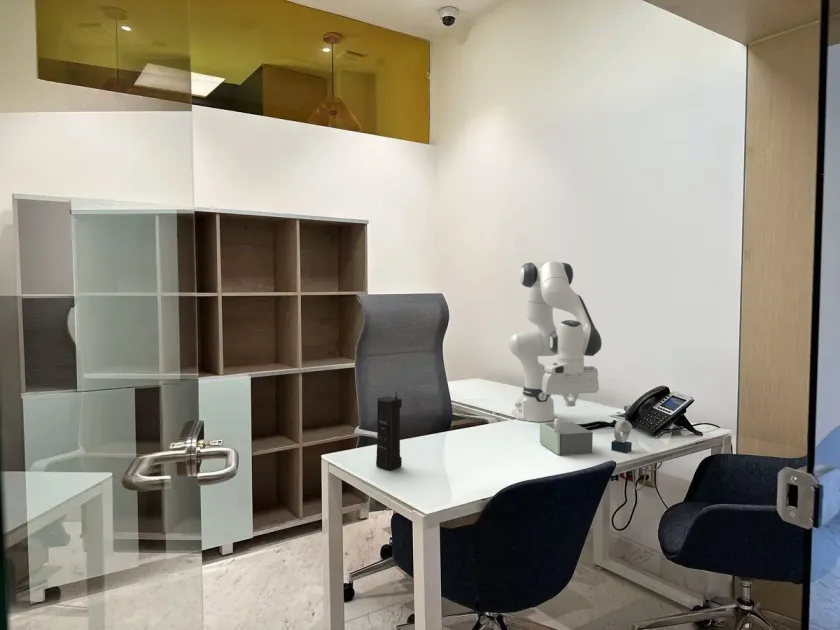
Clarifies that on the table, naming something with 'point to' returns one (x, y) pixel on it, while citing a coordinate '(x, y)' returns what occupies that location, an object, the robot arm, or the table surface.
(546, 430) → the side door
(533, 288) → the robot arm
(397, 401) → the portable radio
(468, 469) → the table surface
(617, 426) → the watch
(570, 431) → the case
